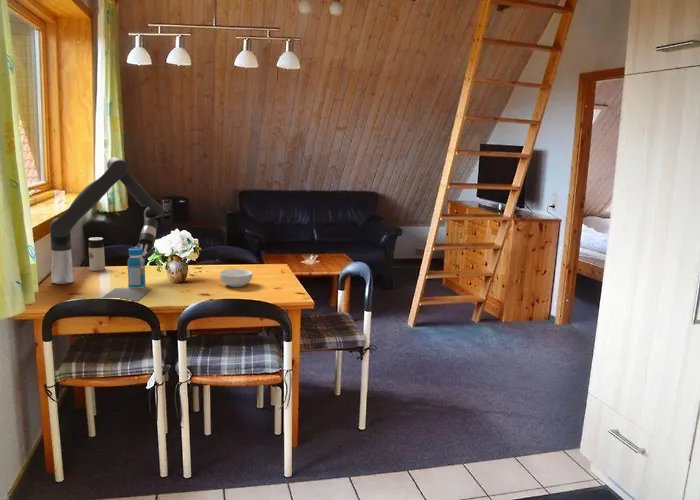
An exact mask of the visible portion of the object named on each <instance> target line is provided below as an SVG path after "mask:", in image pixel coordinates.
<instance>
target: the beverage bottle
mask: <svg viewBox="0 0 700 500" xmlns="http://www.w3.org/2000/svg"><path fill="white" fill-rule="evenodd" d="M141 255H143V249H142V248H132V247H130V248H128V256H129V257H128V259H127V262H126V263H127V278H128V279H127V280H128V288H131V289H145V287H146V265H145V262H146V260H145V261H144V259H143V257H142V256H141Z"/></svg>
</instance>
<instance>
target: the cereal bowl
mask: <svg viewBox="0 0 700 500" xmlns="http://www.w3.org/2000/svg"><path fill="white" fill-rule="evenodd" d="M219 279H220V281H221V282H222V283H223V284H225V285H227V286H228V287H231V288H242V287H244V286H245V285H247V284H250V282H251V281H252V280H253V272H252V271H251V270H248V269H240V268H231V269H230V268H229V269H224V270H221V271H220V272H219Z"/></svg>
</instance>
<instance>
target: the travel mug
mask: <svg viewBox="0 0 700 500" xmlns="http://www.w3.org/2000/svg"><path fill="white" fill-rule="evenodd" d="M88 241H89V242H88V244H87V245H88V256H89V257H88V258H89V259H88V261H89V270H90V271H93V272H100V271H104V270H105V269H106V261H105V244H104V242H103V241H104V238H103V237H89V238H88Z"/></svg>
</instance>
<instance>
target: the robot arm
mask: <svg viewBox="0 0 700 500" xmlns="http://www.w3.org/2000/svg"><path fill="white" fill-rule="evenodd" d="M106 168H107V169H106V171H105V172H104V173H103V174H102V175H101V176H100V177H99V178H97V179H96V180H94V181H92V182H91V183H89V184H88V185H86V187H84V189H82V190H81V191H80V192H79V194H77V196H75V199H74V200H73V201H72V203H71V204H70V206H69V207H68V208H67V209H66V211H64V213H62V214H61V215H60V216H59V217H56V218H54V219H53V220H52V221H51V222H50V224H49V232H50V233H49V234H50V235H49V236H50V247H51V259H52V260H51V261H52V264H51V265H50V273H51V275H50V276H51V283H52V284H53V283H54V284H57V285H60V284H61V285H62V284H63V285H65V284H71V283H73V282H74V269H73V256H72V239H71V231H72V229H73V228H74V227H75V225H77V223H78V222H79V221H80V219H82V218H83V217H85V215H86V214H88V212H89V211H90V210H92V209H93V208H94V207H95V206H96V205H97V204H98V203H99V201H101V199H103V197H104V196H105V195H106V194H107V193H108V191H110V189H111V188H112V187H113V186H114V185H115V184H116V183H117V182H119V181H120V182H121V184H123V185H124V187H125V188H126V189H127V191H128V192H129V193H130V195H131V196H132V197H133V199H134V200H135V201H136V202H137V203H138V204H139V206H140V207H146V208H145V210H144V211H143V220H144V221H143V222H144V223H143V227H142V229H141V231H140V236H139V240H138V243H137V245H136V246H132V247H131V248H142V249H143V255H141V256H142V257H143V259H144V261H145V262H146V259H147V258H150V257H152V256H153V255H154V254H155V253H156V252H155V248H156V246H154V244H155V239H156V237H157V236H156V234H157V229H158V226H159V225H158V224H159V223H158V221H157V220H156V219H157V218H160V217H162V216H163V215H164V214H165V211H164V208H163V205H161V204H160V203H159V202H157V200H155V199H154V198H152V197H151V196H150V195H149V194H148V192H147V191H146V190H145V188H143V186H142V185H141V184H140V183H139V182H138V181H137V180H136V179H135V178H134V176H133V175H132V174H131V173H130V171H129V165H128V163H127V162H126V160H124V159H122V158H120V157H117V156H116V157H114V156H113V157H111V158H109V159H108V161H107V164H106Z"/></svg>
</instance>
